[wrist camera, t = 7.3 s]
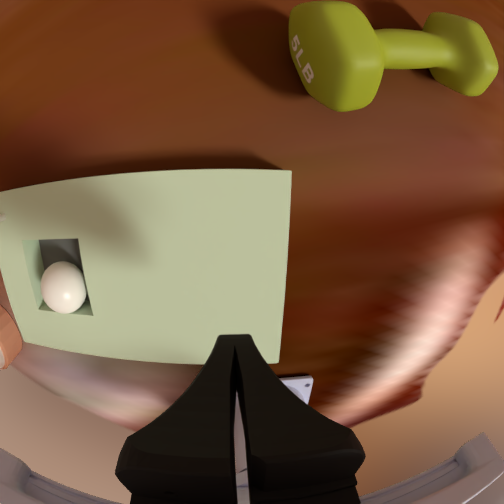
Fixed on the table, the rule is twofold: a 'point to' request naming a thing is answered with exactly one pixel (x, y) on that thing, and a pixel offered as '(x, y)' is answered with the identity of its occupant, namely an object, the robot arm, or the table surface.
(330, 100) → the dumbbell
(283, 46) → the table surface
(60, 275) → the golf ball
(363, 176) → the table surface
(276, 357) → the pale green box
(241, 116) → the table surface
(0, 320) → the pepper shaker
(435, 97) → the table surface
